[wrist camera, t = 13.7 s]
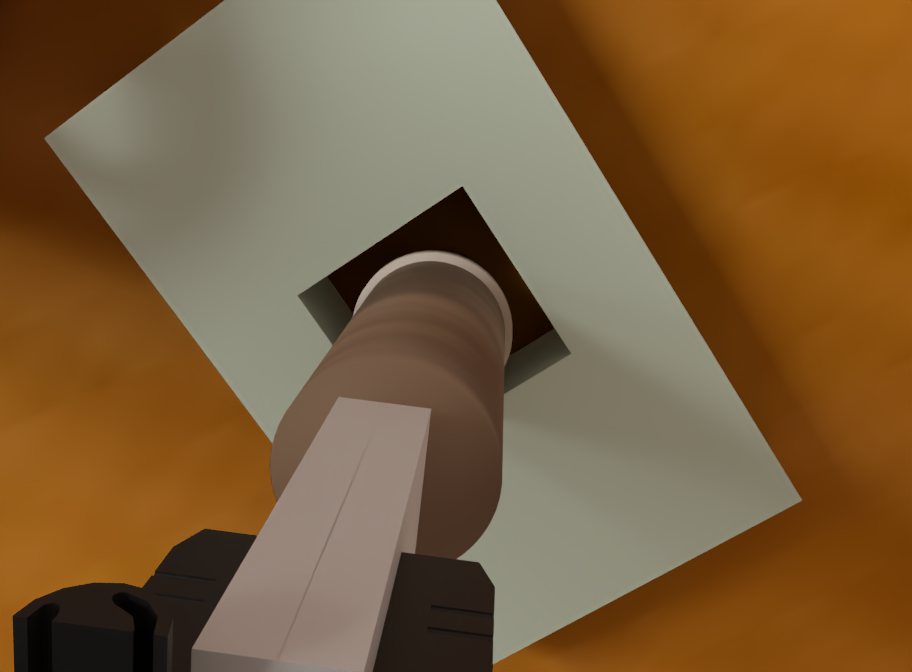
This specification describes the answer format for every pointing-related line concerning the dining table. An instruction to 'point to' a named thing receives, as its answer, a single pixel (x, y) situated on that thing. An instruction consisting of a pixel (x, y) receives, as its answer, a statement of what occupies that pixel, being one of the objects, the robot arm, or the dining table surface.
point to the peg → (422, 386)
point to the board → (391, 206)
